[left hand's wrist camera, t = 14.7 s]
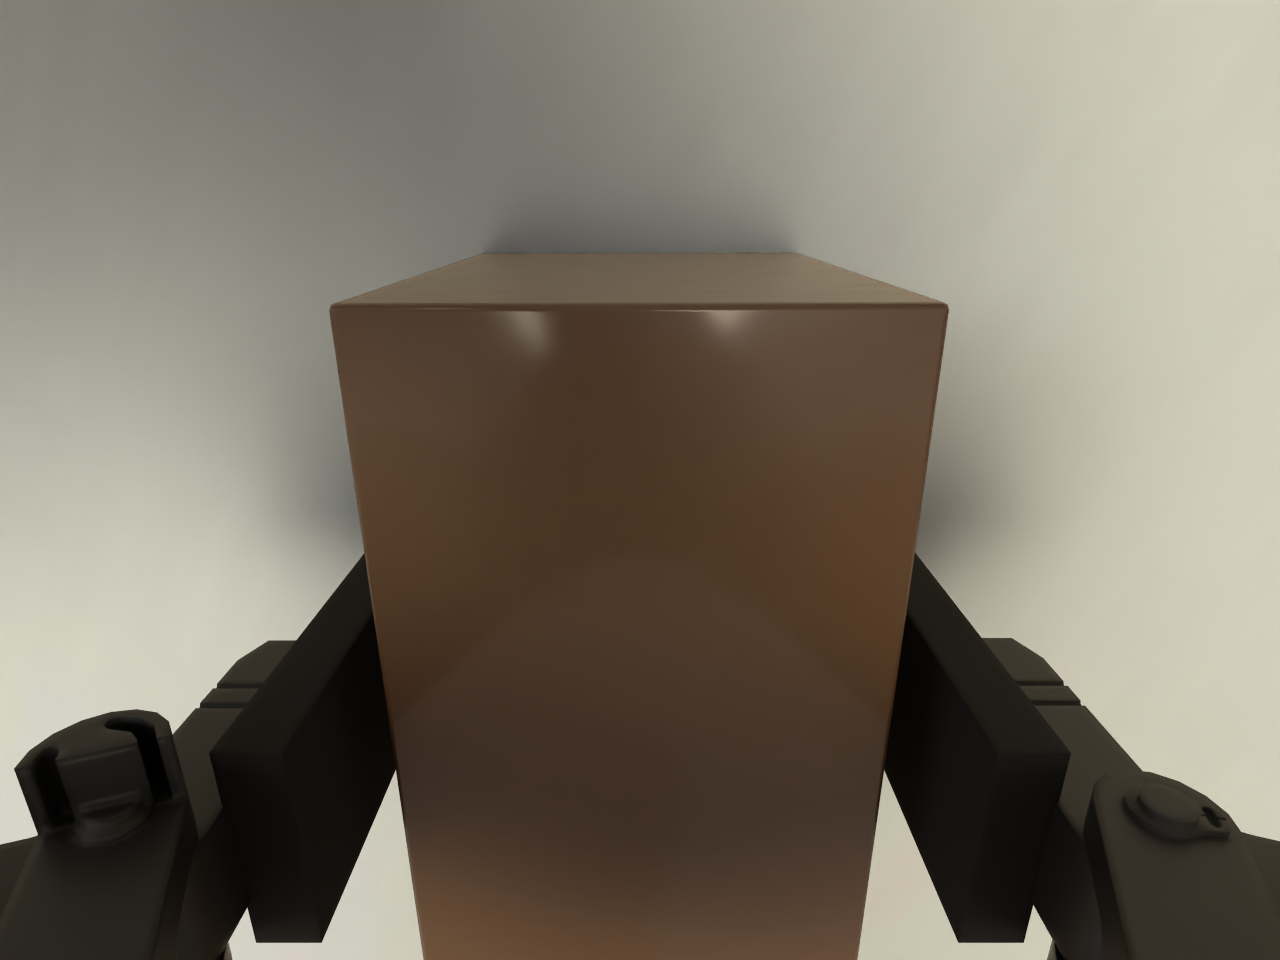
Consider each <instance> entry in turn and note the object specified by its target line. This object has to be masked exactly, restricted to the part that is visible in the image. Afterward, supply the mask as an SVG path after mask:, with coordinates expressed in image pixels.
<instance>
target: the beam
mask: <svg viewBox="0 0 1280 960" xmlns="http://www.w3.org/2000/svg"><path fill="white" fill-rule="evenodd" d="M329 312H330V319H331V326H332V333H333V339H334V346H335V353H336V360H337V367H338V374H339V381H340V388H341V394H342V401H343V408H344V415H345V422H346V429H347V436H348V443H349V449H350V456H351V463H352V470H353V477H354V484H355V491H356V498H357V504H358V511H359V518H360V525H361V532H362V539H363V546H364V553H365V560H366V566H367V573H368V580H369V587H370V594H371V601H372V608H373V615H374V621H375V628H376V635H377V642H378V649H379V656H380V663H381V670H382V676H383V683H384V690H385V697H386V704H387V711H388V718H389V725H390V731H391V738H392V745H393V752H394V759H395V766H396V773H397V780H398V787H399V793H400V800H401V807H402V814H403V821H404V828H405V835H406V842H407V848H408V855H409V862H410V869H411V876H412V883H413V890H414V897H415V903H416V910H417V917H418V924H419V931H420V938H421V945H422V952H423V958H424V960H857V958H858V951H859V944H860V937H861V929H862V922H863V915H864V908H865V901H866V894H867V887H868V880H869V873H870V866H871V859H872V851H873V844H874V837H875V830H876V823H877V816H878V809H879V802H880V795H881V788H882V781H883V773H884V766H885V759H886V752H887V745H888V738H889V731H890V724H891V717H892V710H893V703H894V695H895V688H896V681H897V674H898V667H899V660H900V653H901V646H902V639H903V632H904V625H905V617H906V610H907V603H908V596H909V589H910V582H911V575H912V568H913V561H914V554H915V547H916V539H917V532H918V525H919V518H920V511H921V504H922V497H923V490H924V483H925V476H926V469H927V461H928V454H929V447H930V440H931V433H932V426H933V419H934V412H935V405H936V398H937V391H938V383H939V376H940V369H941V362H942V355H943V348H944V341H945V334H946V327H947V320H948V313H949V308H948V305H947V304H945V303H943V302H940V301H938V300H935V299H932V298H929V297H926V296H923V295H920V294H917V293H914V292H911V291H908V290H905V289H902V288H899V287H896V286H893V285H890V284H887V283H884V282H881V281H878V280H875V279H872V278H869V277H866V276H863V275H860V274H858V273H855V272H852V271H849V270H846V269H843V268H840V267H837V266H834V265H831V264H828V263H825V262H822V261H819V260H816V259H813V258H810V257H807V256H804V255H801V254H798V253H483V254H480V255H477V256H474V257H471V258H468V259H465V260H462V261H459V262H456V263H453V264H450V265H447V266H444V267H441V268H438V269H435V270H432V271H429V272H426V273H424V274H421V275H418V276H415V277H412V278H409V279H406V280H403V281H400V282H397V283H394V284H391V285H388V286H385V287H382V288H379V289H376V290H373V291H370V292H367V293H365V294H362V295H359V296H356V297H353V298H350V299H347V300H344V301H341V302H338V303H335V304H333V305H331V306H330V310H329Z"/></svg>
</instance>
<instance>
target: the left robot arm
mask: <svg viewBox="0 0 1280 960" xmlns="http://www.w3.org/2000/svg"><path fill="white" fill-rule="evenodd" d="M14 770H15V773H16V775H17V778H18V781H19V784H20V786H21V789H22V792H23V794H24V797H25V800H26V803H27V805H28V808H29V811H30V814H31V816H32V819H33V822H34V824H35V827H36V830H37V833H38V836H35V837H32V838H28V839H23V840H19V841H15V842H10V843H6V844H2V845H0V960H232V955H231V951H230V947H229V943H228V941H229V939H230V937H231V936H232V934H233V932H234V930H235V928H236V927H237V925H238V923H239V921H240V919H241V918H242V916H243V914H244V912H245V910H246V909H247V907H248V911H249V915H250V919H251V923H252V927H253V931H254V935H255V939H256V943H322V940H323V938H324V936H325V933H326V931H327V929H328V926H329V924H330V922H331V919H332V917H333V915H334V912H335V910H336V908H337V905H338V903H339V901H340V898H341V896H342V894H343V891H344V889H345V887H346V884H347V882H348V880H349V877H350V875H351V873H352V870H353V868H354V866H355V863H356V861H357V859H358V856H359V854H360V852H361V849H362V847H363V845H364V842H365V840H366V838H367V835H368V833H369V831H370V828H371V826H372V824H373V821H374V819H375V817H376V814H377V812H378V810H379V807H380V805H381V803H382V800H383V798H384V796H385V793H386V791H387V789H388V786H389V784H390V782H391V779H392V777H393V775H394V772H395V770H396V766H395V759H394V752H393V745H392V738H391V731H390V725H389V718H388V711H387V704H386V697H385V690H384V683H383V676H382V670H381V663H380V656H379V649H378V642H377V635H376V628H375V621H374V615H373V608H372V601H371V594H370V587H369V580H368V573H367V566H366V560H365V553H364V554H363V556H362V557H361V558H360V560H359V561H358V562H357V563H356V565H355V566H354V567H353V569H352V570H351V571H350V572H349V574H348V575H347V576H346V578H345V579H344V580H343V581H342V583H341V584H340V585H339V587H338V588H337V589H336V590H335V592H334V593H333V594H332V596H331V597H330V598H329V599H328V601H327V602H326V603H325V604H324V606H323V607H322V608H321V610H320V611H319V612H318V613H317V615H316V616H315V617H314V619H313V620H312V621H311V622H310V624H309V625H308V626H307V628H306V629H305V630H304V631H303V633H302V634H301V635H300V637H299V638H298V639H297V640H296V641H267V642H266V643H264V644H263V645H261V646H260V647H258V648H256V649H255V650H253V651H252V652H250V653H249V654H247V655H245V656H244V657H242V658H241V659H239V660H238V661H237V662H236V663H235V664H234V665H233V666H232V667H231V669H230V670H229V671H228V672H227V673H226V674H225V675H224V677H223V678H222V679H221V680H220V681H219V682H218V683H217V688H216V689H212V690H211V691H210V693H209V694H208V695H207V696H206V697H205V698H204V699H203V701H202V702H201V703H200V708H196V709H195V710H194V711H193V712H192V713H191V714H190V716H189V717H188V718H187V719H186V720H185V721H184V722H183V724H182V725H181V726H180V727H179V728H178V729H177V730H176V732H175V733H174V734H173V735H172V732H171V728H170V724H169V721H167V720H166V719H165V718H164V717H162V716H161V715H160V714H158V713H156V712H150V711H144V710H137V709H136V710H127V711H117V712H110V713H106V714H103V715H99V716H96V717H92V718H89V719H86V720H82V721H80V722H78V723H75V724H73V725H71V726H69V727H67V728H65V729H63V730H61V731H58V732H56V733H54V734H52V735H51V736H50V737H48V738H47V739H45V740H44V741H42V742H41V743H40V744H38V745H37V746H35V747H34V748H33V749H31V750H30V751H29V752H28V753H27V754H26V755H25V756H24V758H23V759H22V760H21V761H20V762H19V764H18V765H17V766H16V767H15V768H14ZM884 770H885V772H886V775H887V777H888V779H889V782H890V784H891V786H892V789H893V791H894V793H895V796H896V798H897V800H898V803H899V805H900V807H901V810H902V812H903V814H904V817H905V819H906V821H907V824H908V826H909V828H910V831H911V833H912V835H913V838H914V840H915V842H916V845H917V847H918V849H919V852H920V854H921V856H922V859H923V861H924V863H925V866H926V868H927V870H928V873H929V875H930V877H931V880H932V882H933V884H934V887H935V889H936V891H937V894H938V896H939V898H940V901H941V903H942V905H943V908H944V910H945V912H946V915H947V917H948V919H949V922H950V924H951V926H952V929H953V931H954V933H955V936H956V938H957V940H958V943H1024V939H1025V935H1026V931H1027V927H1028V923H1029V919H1030V915H1031V911H1032V907H1033V905H1034V907H1035V908H1036V910H1037V912H1038V914H1039V916H1040V917H1041V919H1042V921H1043V923H1044V924H1045V926H1046V928H1047V930H1048V932H1049V933H1050V935H1051V937H1052V939H1053V940H1052V943H1051V947H1050V951H1049V955H1048V958H1047V960H1280V841H1276V840H1271V839H1267V838H1262V837H1258V836H1254V835H1250V834H1246V833H1243V832H1241V831H1240V830H1239V828H1238V827H1237V825H1236V824H1235V823H1234V821H1233V820H1232V819H1231V817H1230V816H1229V814H1228V813H1226V812H1225V811H1224V810H1223V809H1221V808H1220V807H1219V806H1218V805H1216V804H1215V803H1214V802H1213V801H1212V800H1210V799H1209V798H1208V797H1207V796H1205V795H1203V794H1201V793H1199V792H1198V791H1196V790H1194V789H1192V788H1190V787H1188V786H1186V785H1184V784H1183V783H1181V782H1179V781H1176V780H1173V779H1170V778H1167V777H1164V776H1160V775H1157V774H1154V773H1151V772H1143V771H1142V770H1141V769H1140V768H1139V767H1138V766H1137V764H1136V763H1135V762H1134V761H1133V760H1132V759H1131V758H1130V756H1129V755H1128V754H1127V753H1126V752H1125V751H1124V750H1123V748H1122V747H1121V746H1120V745H1119V744H1118V743H1117V742H1116V741H1115V739H1114V738H1113V737H1112V736H1111V735H1110V734H1109V733H1108V731H1107V730H1106V729H1105V728H1104V727H1103V726H1102V725H1101V723H1100V722H1099V721H1098V720H1097V719H1096V718H1095V717H1094V715H1093V714H1092V713H1091V712H1090V711H1089V710H1088V709H1087V708H1086V706H1081V703H1080V700H1079V698H1078V697H1077V696H1076V695H1075V694H1074V693H1073V692H1072V690H1071V689H1070V688H1069V687H1068V686H1064V684H1063V680H1062V679H1061V678H1060V677H1059V676H1058V675H1057V673H1056V672H1055V671H1054V670H1053V669H1052V668H1051V667H1050V665H1049V664H1048V663H1047V662H1046V661H1045V660H1044V659H1043V658H1042V657H1041V656H1039V655H1037V654H1036V653H1034V652H1033V651H1031V650H1029V649H1028V648H1026V647H1025V646H1023V645H1022V644H1020V643H1018V642H1017V641H1015V640H1014V639H1012V638H981V637H980V635H979V634H978V633H977V631H976V630H975V629H974V628H973V626H972V625H971V624H970V622H969V621H968V620H967V619H966V617H965V616H964V615H963V614H962V612H961V611H960V610H959V608H958V607H957V606H956V605H955V603H954V602H953V601H952V599H951V598H950V597H949V596H948V594H947V593H946V592H945V590H944V589H943V588H942V587H941V585H940V584H939V583H938V581H937V580H936V579H935V578H934V576H933V575H932V574H931V572H930V571H929V570H928V569H927V567H926V566H925V565H924V563H923V562H922V561H921V560H920V558H919V557H918V556H917V554H916V553H915V554H914V561H913V568H912V575H911V582H910V589H909V596H908V603H907V610H906V617H905V625H904V632H903V639H902V646H901V653H900V660H899V667H898V674H897V681H896V688H895V695H894V703H893V710H892V717H891V724H890V731H889V738H888V745H887V752H886V759H885V766H884Z"/></svg>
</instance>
